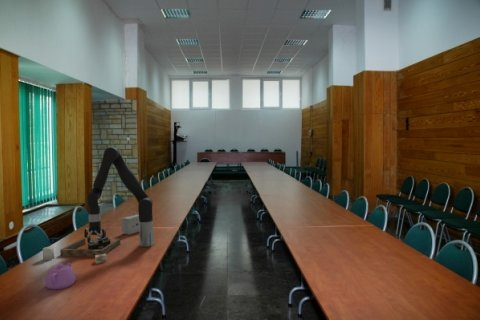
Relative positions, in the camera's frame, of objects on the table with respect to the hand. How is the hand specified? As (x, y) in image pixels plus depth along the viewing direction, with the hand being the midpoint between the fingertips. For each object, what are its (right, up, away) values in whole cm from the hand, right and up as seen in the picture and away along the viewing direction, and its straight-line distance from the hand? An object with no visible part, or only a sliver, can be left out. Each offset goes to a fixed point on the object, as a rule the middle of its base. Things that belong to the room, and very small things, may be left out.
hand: (95, 243), depth 233 cm
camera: (+4, -4, -7) cm, 9 cm away
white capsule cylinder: (-20, -4, -21) cm, 30 cm away
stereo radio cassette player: (+15, -1, +42) cm, 44 cm away
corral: (0, -3, -4) cm, 5 cm away
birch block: (+15, -5, -27) cm, 31 cm away
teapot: (+8, -7, -59) cm, 60 cm away
